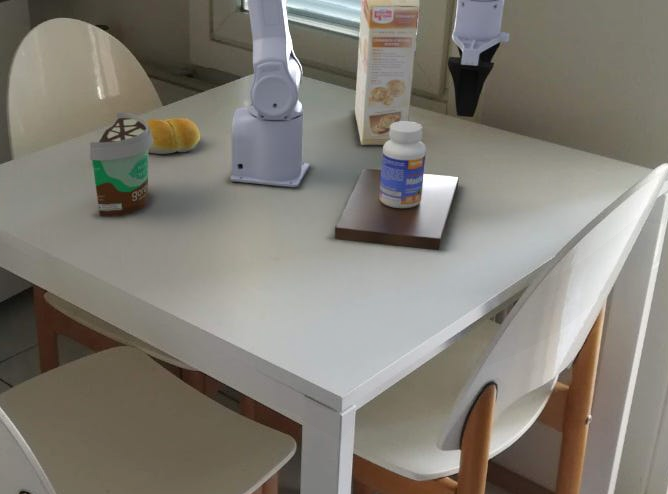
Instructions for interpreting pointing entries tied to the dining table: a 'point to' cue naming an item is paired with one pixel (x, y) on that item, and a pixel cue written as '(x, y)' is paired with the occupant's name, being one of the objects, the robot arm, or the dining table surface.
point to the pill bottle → (403, 166)
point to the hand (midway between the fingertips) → (468, 105)
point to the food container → (122, 165)
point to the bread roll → (173, 135)
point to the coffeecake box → (384, 66)
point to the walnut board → (398, 213)
